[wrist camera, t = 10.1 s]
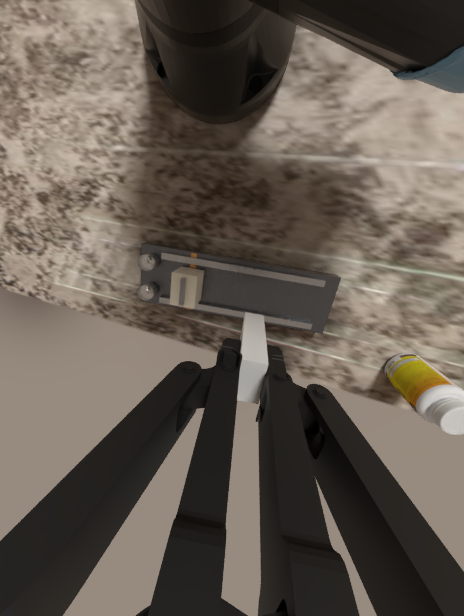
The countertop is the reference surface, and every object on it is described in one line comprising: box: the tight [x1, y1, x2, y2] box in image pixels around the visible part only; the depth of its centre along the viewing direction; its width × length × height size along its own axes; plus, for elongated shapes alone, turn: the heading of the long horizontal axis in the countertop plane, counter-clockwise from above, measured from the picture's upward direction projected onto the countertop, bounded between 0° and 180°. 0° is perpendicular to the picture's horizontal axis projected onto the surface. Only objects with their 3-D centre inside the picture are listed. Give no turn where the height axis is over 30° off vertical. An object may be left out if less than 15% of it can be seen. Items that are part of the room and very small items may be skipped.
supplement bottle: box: [385, 353, 464, 435], centre depth 30 cm, size 6×6×10 cm
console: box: [137, 242, 341, 333], centre depth 30 cm, size 8×26×4 cm, turn 81°
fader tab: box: [170, 266, 204, 309], centre depth 28 cm, size 4×3×5 cm
